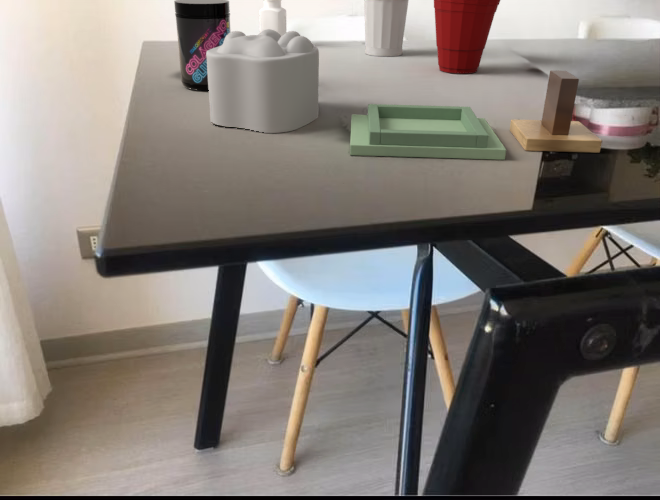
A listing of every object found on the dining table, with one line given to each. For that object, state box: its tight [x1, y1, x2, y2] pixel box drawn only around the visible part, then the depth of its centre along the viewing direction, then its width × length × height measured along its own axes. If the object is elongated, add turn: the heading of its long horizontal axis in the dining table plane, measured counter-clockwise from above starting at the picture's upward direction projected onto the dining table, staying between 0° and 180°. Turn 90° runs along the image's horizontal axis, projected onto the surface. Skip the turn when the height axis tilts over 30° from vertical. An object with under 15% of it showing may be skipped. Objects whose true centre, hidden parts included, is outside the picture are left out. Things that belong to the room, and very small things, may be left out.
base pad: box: [349, 103, 507, 161], centre depth 61 cm, size 14×11×2 cm
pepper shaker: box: [258, 0, 288, 36], centre depth 112 cm, size 4×4×10 cm
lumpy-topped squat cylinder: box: [206, 29, 320, 134], centre depth 68 cm, size 10×13×9 cm
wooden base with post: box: [509, 69, 603, 154], centre depth 61 cm, size 7×7×6 cm
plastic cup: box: [433, 0, 501, 75], centre depth 93 cm, size 11×11×12 cm
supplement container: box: [173, 0, 232, 90], centre depth 80 cm, size 7×7×10 cm
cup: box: [363, 0, 409, 57], centre depth 106 cm, size 8×8×12 cm
